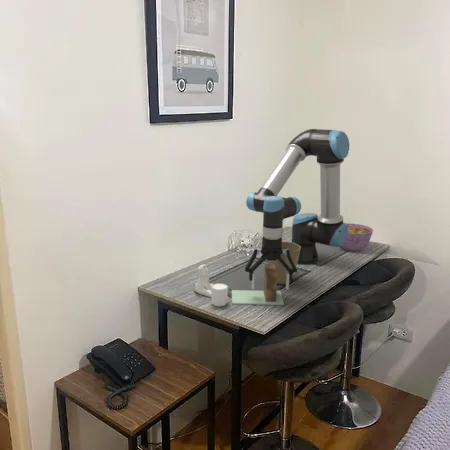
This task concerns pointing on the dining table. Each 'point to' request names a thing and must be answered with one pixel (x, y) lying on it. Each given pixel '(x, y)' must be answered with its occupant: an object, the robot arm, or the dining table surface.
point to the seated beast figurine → (203, 281)
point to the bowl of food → (357, 237)
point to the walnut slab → (270, 283)
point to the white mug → (219, 294)
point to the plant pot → (280, 268)
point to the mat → (254, 298)
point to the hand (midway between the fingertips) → (269, 288)
